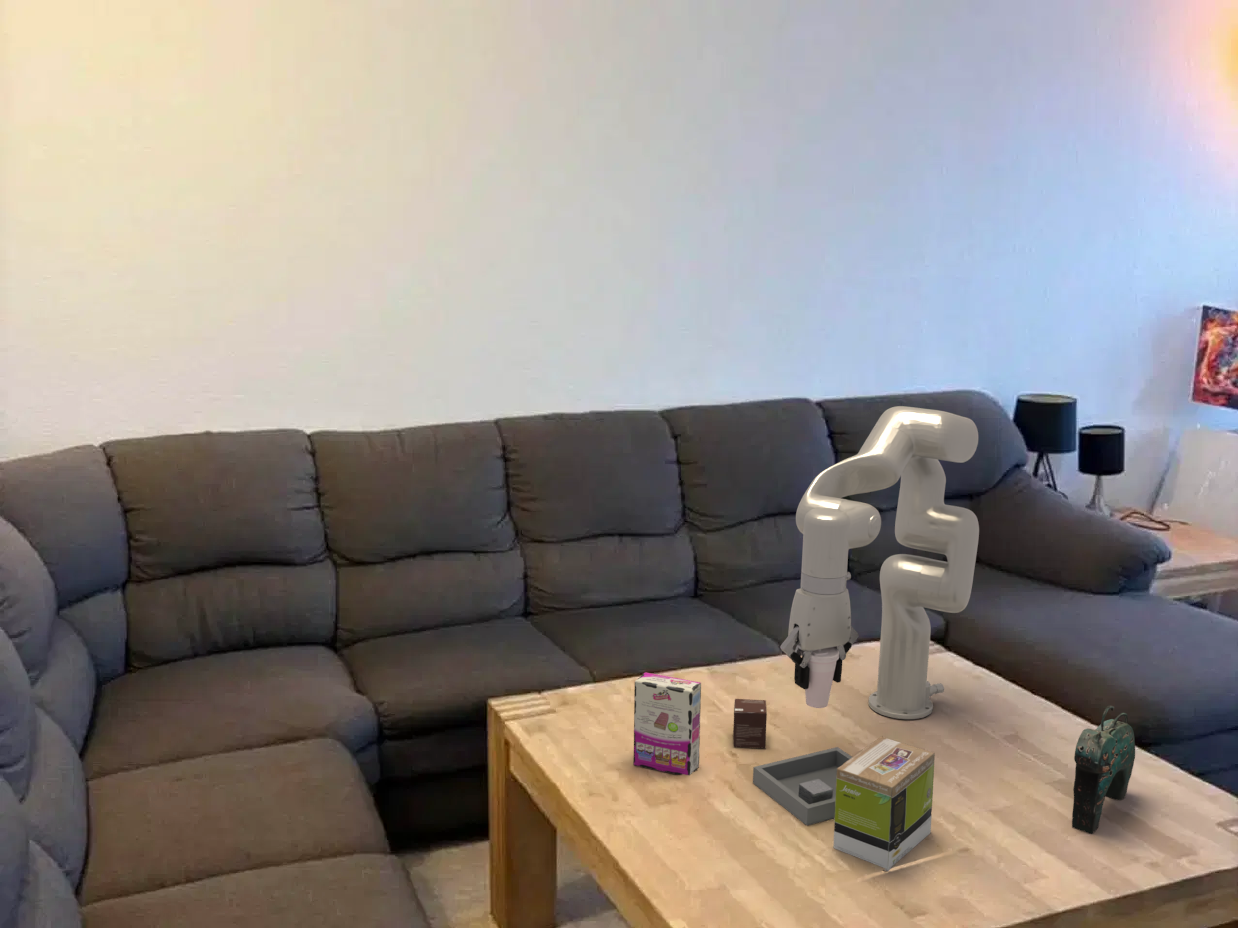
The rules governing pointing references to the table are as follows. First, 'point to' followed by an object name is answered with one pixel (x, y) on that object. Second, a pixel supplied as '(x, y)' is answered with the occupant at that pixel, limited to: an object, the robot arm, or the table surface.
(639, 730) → the candy bar box
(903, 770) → the tea box
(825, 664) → the smoothie
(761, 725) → the box
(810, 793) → the metal block
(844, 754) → the tray
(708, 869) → the table surface
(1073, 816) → the green animal figurine
